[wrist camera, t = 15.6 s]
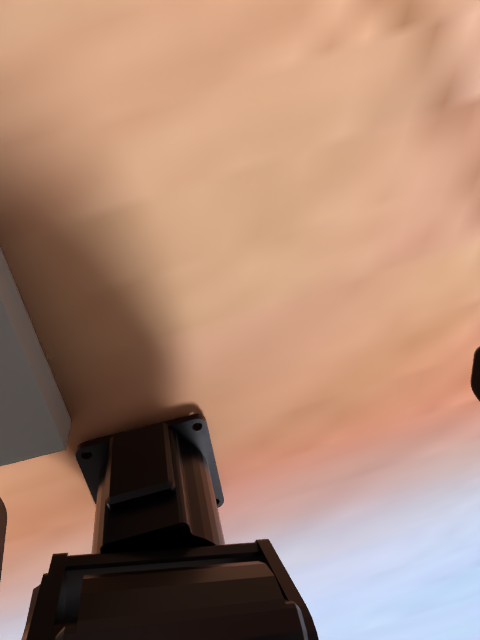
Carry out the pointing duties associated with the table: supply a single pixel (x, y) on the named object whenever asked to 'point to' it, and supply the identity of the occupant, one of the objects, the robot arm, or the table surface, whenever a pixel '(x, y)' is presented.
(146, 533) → the robot arm
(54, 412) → the board
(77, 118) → the table surface
